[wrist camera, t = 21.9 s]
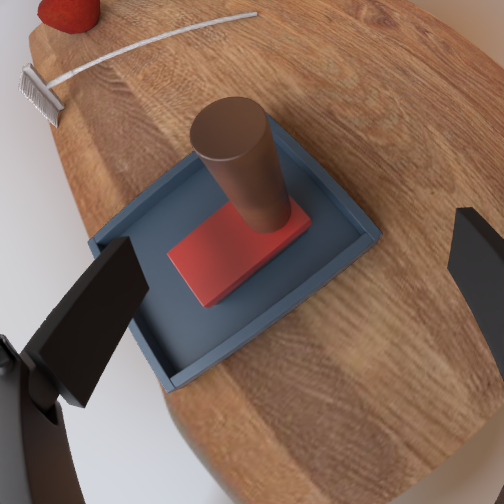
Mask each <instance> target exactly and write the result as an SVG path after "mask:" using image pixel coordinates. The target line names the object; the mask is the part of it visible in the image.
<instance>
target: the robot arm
mask: <svg viewBox="0 0 504 504" xmlns="http://www.w3.org/2000/svg"><path fill="white" fill-rule="evenodd" d="M447 269H448V270H449V272H450V274H451V275H452V277H453V279H454V280H455V282H456V284H457V286H458V287H459V289H460V291H461V293H462V295H463V296H464V298H465V300H466V302H467V304H468V306H469V308H470V309H471V311H472V313H473V315H474V317H475V319H476V321H477V323H478V325H479V327H480V329H481V331H482V333H483V335H484V337H485V340H486V342H487V344H488V346H489V348H490V350H491V353H492V355H493V357H494V359H495V362H496V364H497V366H498V369H499V371H500V374H501V376H502V379H503V381H504V239H503V238H502V237H501V236H500V235H499V234H498V233H497V232H496V231H495V230H494V229H493V228H492V227H491V226H490V225H489V223H488V222H487V221H486V220H485V219H484V218H483V217H482V216H481V215H480V214H479V213H478V212H477V211H476V210H475V209H474V208H473V207H465V208H456V216H455V224H454V231H453V238H452V244H451V251H450V256H449V262H448V267H447ZM149 289H150V288H149V286H148V283H147V281H146V278H145V276H144V273H143V271H142V269H141V266H140V263H139V261H138V258H137V256H136V253H135V251H134V248H133V245H132V243H131V240H130V237H129V236H125V237H117V238H114V239H113V240H112V241H111V243H110V244H109V245H108V246H107V247H106V248H105V249H104V250H103V251H102V252H101V254H100V255H99V256H98V257H97V258H96V259H95V260H94V262H93V263H92V264H91V265H90V266H89V267H88V269H87V270H86V271H85V272H84V273H83V274H82V275H81V277H80V278H79V279H78V280H77V281H76V283H75V284H74V285H73V287H71V289H70V290H69V291H68V292H67V294H66V295H65V296H64V297H63V298H62V300H61V301H60V302H59V304H58V305H57V306H56V307H55V308H54V309H53V310H52V312H51V313H50V314H49V315H48V317H47V318H46V320H45V321H44V322H43V323H42V325H41V326H40V328H39V329H38V330H37V331H36V333H35V334H34V335H33V336H32V338H31V339H30V341H29V342H28V343H27V345H26V346H25V348H24V349H23V350H22V352H21V353H20V354H18V353H17V352H16V350H15V349H14V347H13V346H12V345H11V343H10V342H9V340H8V339H7V338H6V336H4V335H1V334H0V504H85V501H84V498H83V494H82V491H81V488H80V485H79V482H78V478H77V475H76V471H75V467H74V464H73V460H72V456H71V452H70V448H69V443H68V439H67V434H66V429H65V424H64V419H63V414H62V408H61V405H60V403H59V402H58V401H57V398H58V396H59V394H60V395H61V396H62V397H63V398H64V399H65V400H66V401H67V403H69V404H70V405H74V406H77V407H81V408H85V407H86V405H87V402H88V400H89V398H90V396H91V395H92V393H93V391H94V389H95V387H96V384H97V383H98V381H99V379H100V377H101V375H102V373H103V371H104V369H105V367H106V365H107V363H108V362H109V360H110V358H111V356H112V354H113V352H114V351H115V349H116V347H117V345H118V343H119V341H120V340H121V338H122V336H123V334H124V332H125V331H126V329H127V327H128V325H129V324H130V322H131V320H132V318H133V316H134V315H135V313H136V311H137V309H138V308H139V306H140V304H141V303H142V301H143V299H144V297H145V296H146V294H147V292H148V291H149ZM495 504H504V486H503V488H502V490H501V492H500V494H499V496H498V498H497V500H496V502H495Z"/></svg>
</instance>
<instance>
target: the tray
mask: <svg viewBox="0 0 504 504" xmlns="http://www.w3.org/2000/svg"><path fill="white" fill-rule="evenodd" d="M265 113H266V112H265ZM266 115H267V118H268V121H269V125H270V129H271V132H272V136H273V139H274V143H275V147H276V150H277V154H278V158H279V162H280V165H281V169H282V173H283V177H284V181H285V185H286V189H287V193H288V195H289V196H290V197H291V198H292V199H293V200H294V201H295V202H296V203H297V204H298V205H299V206H300V207H301V208H302V209H303V210H304V212H305V213H306V214H307V215H308V216H309V217H310V218H311V226H309V227H308V232H307V233H306V234H304V235H303V236H302V237H301V238H300V239H298V240H297V241H296V242H295V243H294V244H292V245H291V246H290V247H289V248H287V249H286V250H285V251H284V252H283V253H281V254H280V255H279V256H278V257H277V258H275V259H274V260H273V261H272V262H271V263H269V264H268V265H267V266H266V267H264V268H263V269H262V270H261V271H260V272H258V273H257V274H256V275H255V276H253V277H252V278H251V279H250V280H249V281H247V282H246V283H245V284H244V285H242V286H241V287H240V288H239V289H238V290H236V291H235V292H234V293H233V294H231V295H230V296H229V297H228V298H226V299H225V300H224V301H223V302H221V303H220V304H219V305H213V306H212V307H211V308H207V307H203V306H202V304H201V303H200V301H199V300H198V299H197V297H196V296H195V294H194V293H193V291H192V290H191V289H190V287H189V286H188V284H187V283H186V281H185V280H184V278H183V277H182V276H181V274H180V273H179V271H178V270H177V268H176V267H175V265H174V264H173V262H172V261H171V259H170V258H169V256H168V255H167V253H168V252H169V251H170V250H171V249H173V248H174V247H175V246H176V245H177V244H178V243H180V242H181V241H182V240H183V239H184V238H185V237H187V236H188V235H189V234H190V233H191V232H192V231H194V230H195V229H196V228H197V227H198V226H200V225H201V224H202V223H203V222H204V221H206V220H207V219H208V218H209V217H210V216H212V215H213V214H214V213H215V212H216V211H218V210H219V209H220V208H221V207H222V206H224V205H225V204H226V203H227V202H229V201H230V200H229V198H228V197H227V196H226V194H225V193H224V191H223V190H222V189H221V187H220V186H219V184H218V183H217V182H216V180H215V179H214V177H213V176H212V174H211V173H210V172H209V170H208V169H207V167H206V166H205V165H204V163H203V162H202V160H201V159H200V158H199V156H198V155H197V153H196V152H195V151H193V152H192V153H190V154H189V155H188V156H187V157H185V158H184V159H183V160H181V161H180V162H179V163H177V164H176V165H175V166H174V167H172V168H171V169H170V170H169V171H167V172H166V173H165V174H164V175H162V176H161V177H160V178H159V179H158V180H156V181H155V182H154V183H153V184H151V185H150V186H149V187H148V188H147V189H146V190H144V191H143V192H142V193H141V194H140V195H138V196H137V197H136V198H135V199H134V200H133V201H131V202H130V203H129V204H128V205H127V206H126V207H125V208H123V209H122V210H121V211H120V212H119V213H118V214H117V215H116V216H115V217H113V218H112V219H111V220H110V221H109V222H108V223H107V224H106V225H105V226H104V227H103V228H101V229H100V230H99V231H98V232H97V233H96V234H95V235H94V237H92V238H91V239H90V240H89V241H88V245H89V247H90V249H91V252H92V254H93V256H94V259H96V258H97V257H98V256H99V255H100V254H101V252H102V251H103V250H104V249H105V248H106V247H107V246H108V245H109V244H110V243H111V241H112V240H113V239H114V238H117V237H125V236H129V237H130V240H131V243H132V245H133V248H134V251H135V253H136V256H137V258H138V261H139V263H140V266H141V269H142V271H143V273H144V276H145V278H146V281H147V283H148V286H149V288H150V289H149V291H148V292H147V294H146V296H145V297H144V299H143V301H142V303H141V304H140V306H139V308H138V309H137V311H136V313H135V315H134V316H133V318H132V320H131V322H130V324H129V325H128V328H129V329H130V331H131V333H132V335H133V337H134V339H135V340H136V342H137V344H138V346H139V347H140V349H141V351H142V353H143V354H144V356H145V358H146V360H147V361H148V363H149V365H150V366H151V368H152V370H153V371H154V373H155V374H156V376H157V378H158V379H159V381H160V382H161V384H162V386H163V387H164V389H165V390H166V392H167V393H170V392H173V391H175V390H178V389H181V388H183V387H184V386H186V385H187V384H189V383H190V382H192V381H193V380H195V379H196V378H198V377H199V376H201V375H202V374H204V373H205V372H207V371H208V370H210V369H211V368H213V367H214V366H216V365H217V364H219V363H220V362H222V361H223V360H224V359H226V358H227V357H229V356H230V355H232V354H233V353H235V352H236V351H237V350H239V349H240V348H242V347H243V346H245V345H246V344H247V343H249V342H250V341H252V340H253V339H254V338H256V337H257V336H259V335H260V334H261V333H263V332H264V331H265V330H267V329H268V328H270V327H271V326H272V325H274V324H275V323H276V322H278V321H279V320H280V319H282V318H283V317H284V316H286V315H287V314H288V313H290V312H291V311H292V310H294V309H295V308H296V307H298V306H299V305H300V304H302V303H303V302H304V301H306V300H307V299H308V298H309V297H311V296H312V295H313V294H315V293H316V292H317V291H318V290H320V289H321V288H322V287H324V286H325V285H326V284H327V283H329V282H330V281H331V280H332V279H334V278H335V277H336V276H337V275H339V274H340V273H341V272H342V271H344V270H345V269H346V268H347V267H349V266H350V265H351V264H352V263H353V262H355V261H356V260H357V259H358V258H359V257H361V256H362V255H363V254H364V253H366V252H367V251H368V250H369V249H370V248H371V247H373V246H374V245H375V244H376V243H377V242H378V240H379V239H380V237H381V236H382V234H383V233H382V232H381V231H380V230H379V228H378V227H377V226H376V225H375V224H374V223H373V221H372V220H371V219H370V218H369V217H368V216H367V215H366V213H365V212H364V211H363V210H362V209H361V208H360V207H359V206H358V204H357V203H356V202H355V201H354V200H353V199H352V198H351V197H350V196H349V194H348V193H347V192H346V191H345V190H344V189H343V188H342V187H341V186H340V185H339V184H338V183H337V182H336V180H335V179H334V178H333V177H332V176H331V175H330V174H329V173H328V172H327V171H326V170H325V169H324V168H323V167H322V166H321V165H320V164H319V163H318V162H317V161H316V160H315V159H314V158H313V157H312V156H311V155H310V154H309V153H308V152H307V151H306V150H305V149H304V148H303V147H302V146H301V145H300V144H299V143H298V142H297V141H296V140H295V139H294V138H293V137H292V136H291V135H290V134H289V133H288V132H287V131H286V130H285V129H283V128H282V127H281V126H280V125H279V124H278V123H277V122H276V121H275V120H274V119H273V118H272V117H271V116H269V115H268V114H267V113H266Z"/></svg>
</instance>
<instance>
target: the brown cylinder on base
mask: <svg viewBox="0 0 504 504" xmlns="http://www.w3.org/2000/svg"><path fill="white" fill-rule="evenodd" d="M190 142H191V145H192V147H193V149H194V151H195V152H196V153H197V155H198V156H199V158H200V159H201V160H202V162H203V163H204V165H205V166H206V167H207V169H208V170H209V172H210V173H211V174H212V176H213V177H214V179H215V180H216V182H217V183H218V184H219V186H220V187H221V189H222V190H223V191H224V193H225V194H226V196H227V197H228V198H229V200H230V201H229V202H227V203H226V204H225V205H224V206H222V207H221V208H220V209H219V210H218V211H216V212H215V213H214V214H213V215H212V216H210V217H209V218H208V219H207V220H206V221H204V222H203V223H202V224H201V225H200V226H198V227H197V228H196V229H195V230H194V231H192V232H191V233H190V234H189V235H188V236H187V237H185V238H184V239H183V240H182V241H181V242H180V243H178V244H177V245H176V246H175V247H174V248H173V249H171V250H170V251H169V252H168V253H167V255H168V256H169V258H170V259H171V261H172V262H173V264H174V265H175V267H176V268H177V270H178V271H179V273H180V274H181V276H182V277H183V278H184V280H185V281H186V283H187V284H188V286H189V287H190V289H191V290H192V291H193V293H194V294H195V296H196V297H197V299H198V300H199V301H200V303H201V304H202V306H203V307H207V308H211V307H212V306H213V305H219V304H220V303H221V302H223V301H224V300H225V299H226V298H228V297H229V296H230V295H231V294H233V293H234V292H235V291H236V290H238V289H239V288H240V287H241V286H242V285H244V284H245V283H246V282H247V281H249V280H250V279H251V278H252V277H253V276H255V275H256V274H257V273H258V272H260V271H261V270H262V269H263V268H264V267H266V266H267V265H268V264H269V263H271V262H272V261H273V260H274V259H275V258H277V257H278V256H279V255H280V254H281V253H283V252H284V251H285V250H286V249H287V248H289V247H290V246H291V245H292V244H294V243H295V242H296V241H297V240H298V239H300V238H301V237H302V236H303V235H304V234H306V233H307V232H308V227H309V226H311V218H310V217H309V216H308V215H307V214H306V213H305V212H304V210H303V209H302V208H301V207H300V206H299V205H298V204H297V203H296V202H295V201H294V200H293V199H292V198H291V197H290V196H289V195H288V193H287V189H286V185H285V181H284V177H283V173H282V169H281V165H280V162H279V158H278V154H277V150H276V147H275V143H274V139H273V136H272V132H271V129H270V125H269V121H268V118H267V115H266V113H265V111H264V109H263V108H262V107H261V106H260V105H259V104H258V103H256V102H255V101H253V100H251V99H248V98H244V97H228V98H223V99H220V100H217V101H215V102H213V103H211V104H210V105H208V106H207V107H205V108H204V109H203V110H202V111H201V112H200V113H199V114H198V115H197V116H196V118H195V119H194V121H193V123H192V126H191V129H190Z"/></svg>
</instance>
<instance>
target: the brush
mask: <svg viewBox="0 0 504 504" xmlns="http://www.w3.org/2000/svg"><path fill="white" fill-rule="evenodd" d="M252 16H257V12H256V11H254V12H248V13H243V14H237V15H232V16H227V17H223V18H218V19H214V20H209V21H205V22H201V23H197V24H194V25H190V26H186V27H183V28H179V29H176V30H172V31H169V32H166V33H163V34H160V35H157V36H154V37H151V38H148V39H145V40H142V41H139V42H137V43H134V44H131V45H129V46H126V47H123V48H121V49H118V50H116V51H114V52H111V53H109V54H106V55H104V56H102V57H100V58H97V59H95V60H93V61H91V62H89V63H86V64H84V65H82V66H80V67H78V68H76V69H74V70H70V71H68V72H66V73H65V74H63V75H61V76H59V77H57V78H55V79H53V80H51V81H50V82H48V83H46V81H45V80H44V79H43V78H42V76H41V75H40V74H39V73H38V72H37V70H36V69H35V68H34V67H33V65H32V64H31V63H28V64H27V65H25V66H24V67H23V68H22V72H21V78H20V84H19V90H20V89H21V93H22V92H24V93H23V94H24V95H25V94H26V98H27V97H28V100H30V102H32V101H33V104H35V107H36V106H37V109H39V111H41V113H43V116H44V115H45V117H46V118H47V120H49V122H51V124H53V126H55V128H57V127H58V112H59V111H60V110H62V109H64V108H65V104H64V103H63V102H62V101H61V100H60V98H59V97H58V96H57V95H56V94H55V92H54V91H53V90H52V89H51V88H52V87H53V86H55V85H57V84H59V83H61V82H63V81H65V80H67V79H69V78H70V77H72V76H74V74H76V73H78V72H80V71H82V70H84V69H87V68H89V67H91V66H93V65H95V64H97V63H100V62H102V61H104V60H107V59H109V58H111V57H114V56H116V55H119V54H121V53H124V52H126V51H129V50H131V49H134V48H137V47H139V46H142V45H145V44H148V43H151V42H154V41H157V40H160V39H163V38H166V37H169V36H172V35H176V34H179V33H182V32H186V31H189V30H193V29H197V28H201V27H205V26H209V25H213V24H217V23H222V22H226V21H231V20H236V19H241V18H247V17H252Z"/></svg>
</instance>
